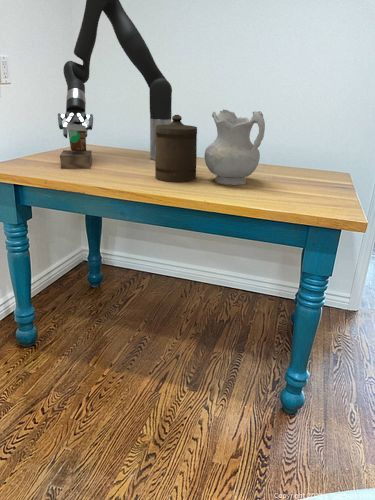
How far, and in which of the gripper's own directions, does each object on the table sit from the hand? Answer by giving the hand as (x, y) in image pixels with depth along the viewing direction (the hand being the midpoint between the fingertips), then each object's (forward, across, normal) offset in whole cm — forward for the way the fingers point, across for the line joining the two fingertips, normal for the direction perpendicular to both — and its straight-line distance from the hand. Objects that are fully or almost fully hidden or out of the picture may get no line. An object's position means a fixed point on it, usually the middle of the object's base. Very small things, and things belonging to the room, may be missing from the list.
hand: (75, 136), depth 163 cm
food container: (+4, 0, +3) cm, 5 cm away
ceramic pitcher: (+29, +57, -13) cm, 65 cm away
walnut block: (+8, 0, +8) cm, 11 cm away
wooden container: (+24, +37, -8) cm, 45 cm away
